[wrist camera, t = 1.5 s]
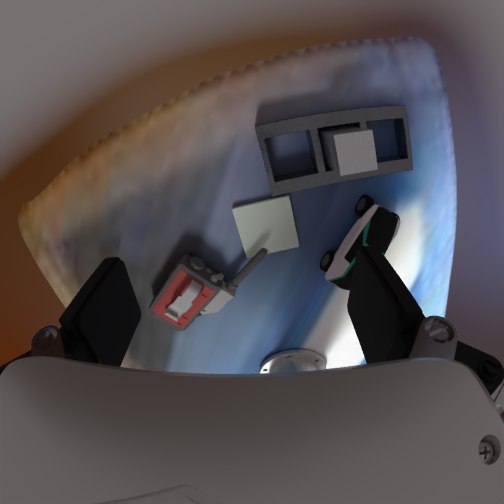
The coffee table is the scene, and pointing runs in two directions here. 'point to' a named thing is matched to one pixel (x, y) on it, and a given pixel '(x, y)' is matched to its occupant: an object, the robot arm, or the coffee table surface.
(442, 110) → the coffee table surface
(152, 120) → the coffee table surface
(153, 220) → the coffee table surface
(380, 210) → the toy car
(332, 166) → the steel block
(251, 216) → the sage mat
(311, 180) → the grey flat frame
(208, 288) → the walkie-talkie
